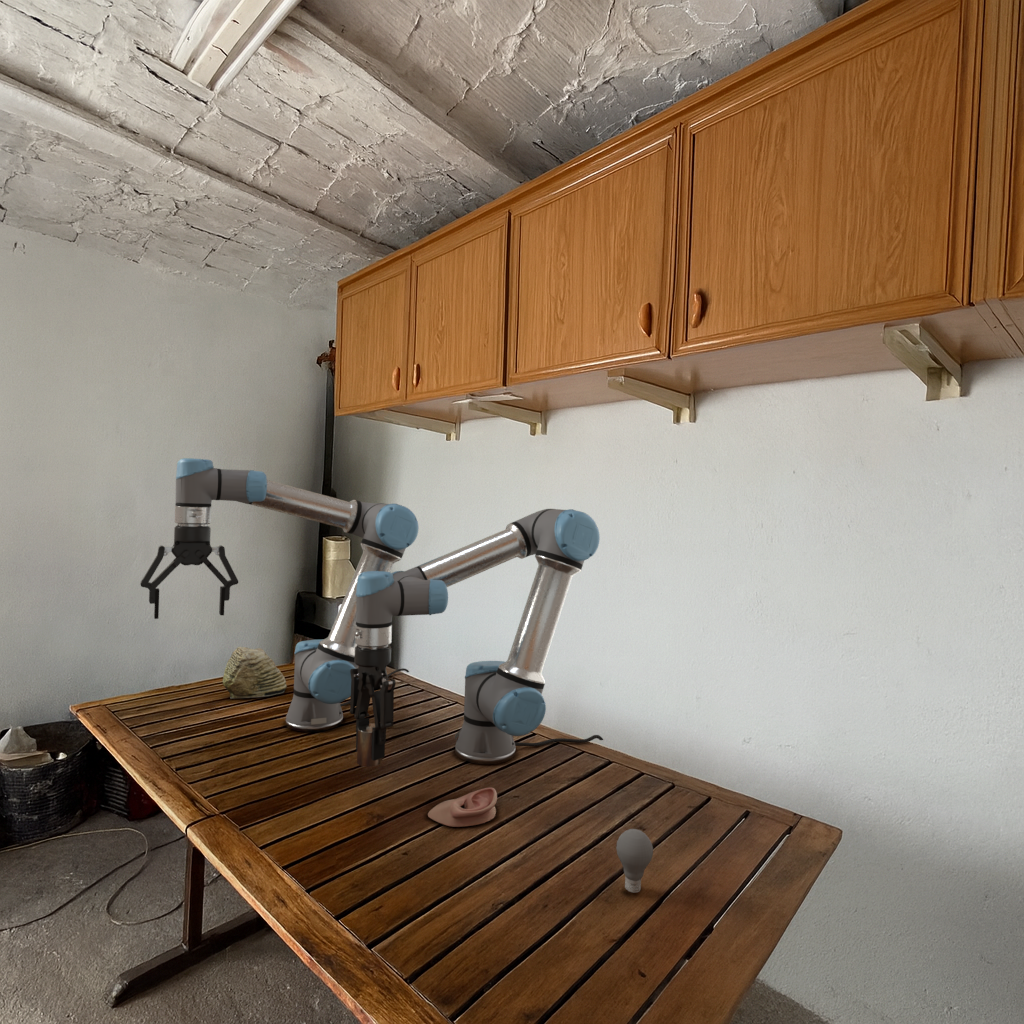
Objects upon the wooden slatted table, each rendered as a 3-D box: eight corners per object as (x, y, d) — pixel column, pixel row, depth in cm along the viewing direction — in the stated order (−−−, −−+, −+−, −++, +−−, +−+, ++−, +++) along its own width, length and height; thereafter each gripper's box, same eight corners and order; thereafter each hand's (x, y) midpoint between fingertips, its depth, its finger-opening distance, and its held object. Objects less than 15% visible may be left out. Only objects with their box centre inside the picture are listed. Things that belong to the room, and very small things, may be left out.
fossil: (218, 695, 195) (220, 647, 195) (278, 685, 208) (279, 640, 207) (228, 703, 189) (230, 653, 188) (289, 692, 201) (290, 645, 201)
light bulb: (610, 879, 108) (613, 822, 108) (644, 879, 109) (647, 822, 109) (619, 902, 102) (622, 840, 102) (655, 901, 103) (658, 840, 103)
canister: (368, 754, 138) (369, 721, 138) (387, 759, 135) (388, 726, 135) (351, 763, 133) (352, 728, 133) (371, 768, 131) (372, 734, 130)
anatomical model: (423, 802, 125) (441, 778, 136) (422, 822, 125) (440, 796, 136) (488, 812, 122) (501, 786, 133) (487, 832, 122) (500, 805, 133)
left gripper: (130, 525, 137) (127, 622, 138) (252, 526, 150) (249, 615, 151) (130, 523, 144) (127, 616, 144) (247, 525, 157) (244, 610, 157)
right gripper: (334, 639, 137) (331, 745, 138) (383, 656, 125) (379, 773, 125) (364, 635, 143) (361, 737, 143) (413, 650, 130) (410, 762, 131)
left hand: (189, 616), depth 148 cm, fingers open, 13 cm apart
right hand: (370, 753), depth 134 cm, fingers closed on canister, 5 cm apart
